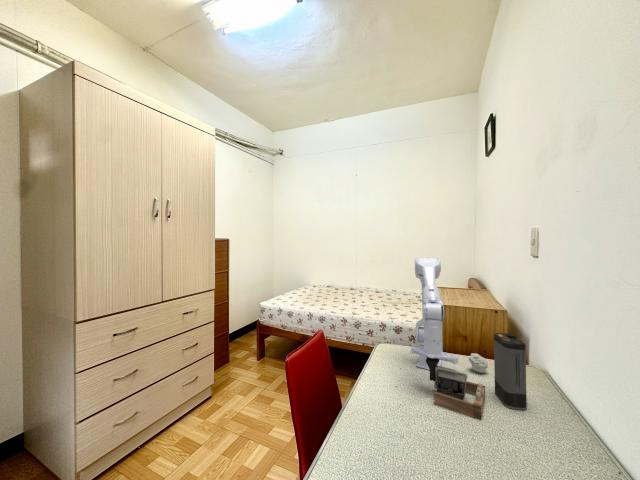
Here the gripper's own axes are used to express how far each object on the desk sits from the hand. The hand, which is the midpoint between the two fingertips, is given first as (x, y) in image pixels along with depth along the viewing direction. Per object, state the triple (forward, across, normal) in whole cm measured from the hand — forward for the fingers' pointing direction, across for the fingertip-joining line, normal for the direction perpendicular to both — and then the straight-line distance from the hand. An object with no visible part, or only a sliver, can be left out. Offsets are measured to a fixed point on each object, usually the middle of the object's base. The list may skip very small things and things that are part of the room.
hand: (433, 379), depth 87 cm
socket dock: (+4, +8, +1) cm, 9 cm away
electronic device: (+4, +21, +10) cm, 23 cm away
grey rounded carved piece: (+4, +10, +26) cm, 28 cm away
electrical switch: (+4, +5, +1) cm, 7 cm away
